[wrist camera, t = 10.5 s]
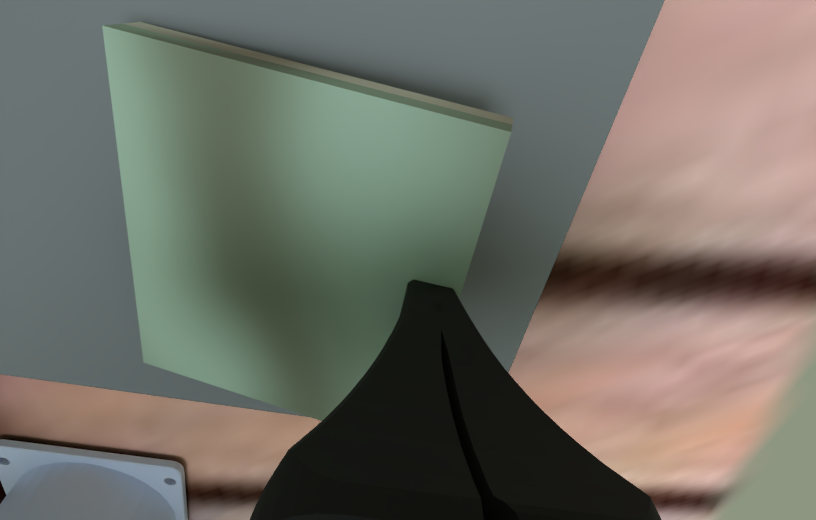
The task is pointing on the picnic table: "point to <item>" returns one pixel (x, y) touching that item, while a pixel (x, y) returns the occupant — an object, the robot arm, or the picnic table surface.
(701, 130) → the picnic table surface
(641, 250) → the picnic table surface
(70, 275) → the board
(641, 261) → the picnic table surface
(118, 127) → the tile
